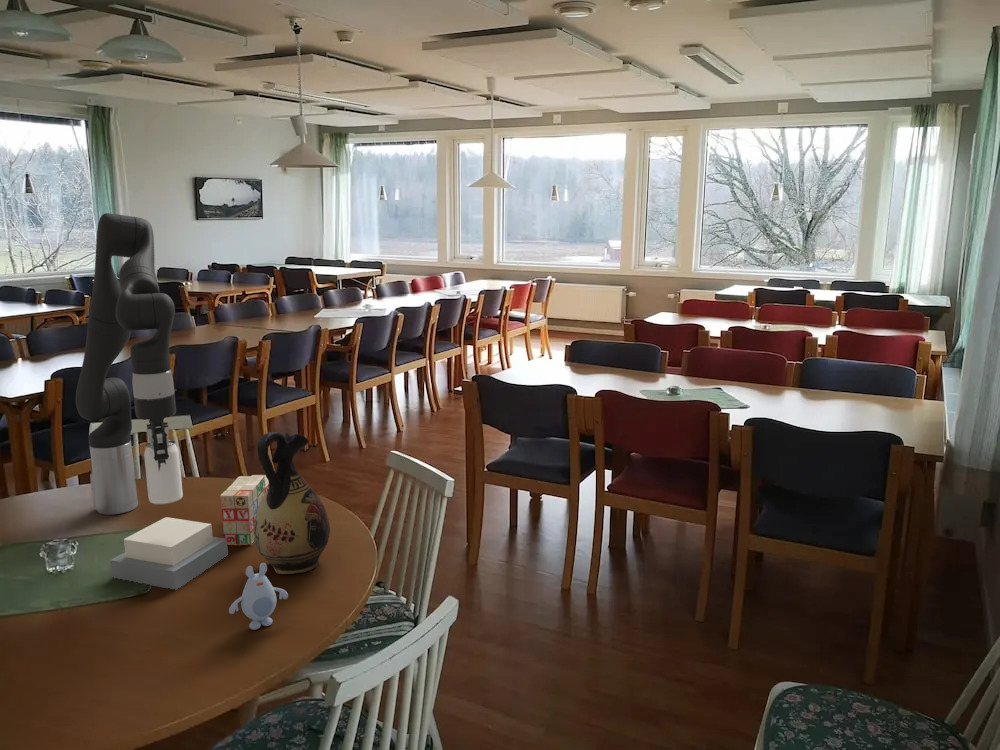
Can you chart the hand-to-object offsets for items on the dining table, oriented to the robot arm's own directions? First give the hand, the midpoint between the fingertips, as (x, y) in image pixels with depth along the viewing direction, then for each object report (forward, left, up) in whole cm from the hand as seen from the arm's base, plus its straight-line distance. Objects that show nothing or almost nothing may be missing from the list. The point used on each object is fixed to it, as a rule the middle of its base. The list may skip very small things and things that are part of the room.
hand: (162, 472), depth 158 cm
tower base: (0, 0, -21) cm, 21 cm away
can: (+1, -1, -6) cm, 6 cm away
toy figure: (+32, -14, -21) cm, 41 cm away
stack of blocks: (+4, +23, -21) cm, 32 cm away
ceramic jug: (+24, +8, -21) cm, 33 cm away
